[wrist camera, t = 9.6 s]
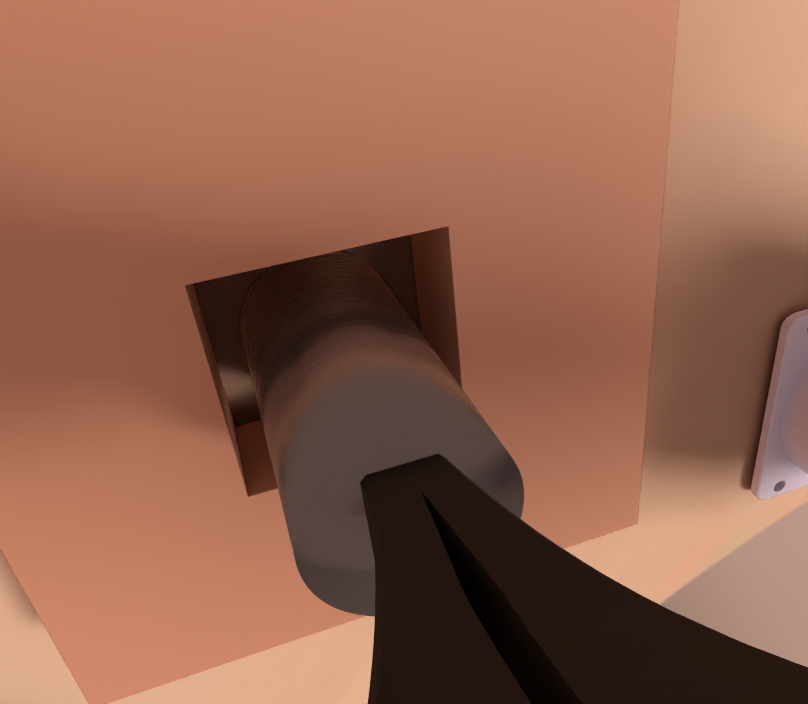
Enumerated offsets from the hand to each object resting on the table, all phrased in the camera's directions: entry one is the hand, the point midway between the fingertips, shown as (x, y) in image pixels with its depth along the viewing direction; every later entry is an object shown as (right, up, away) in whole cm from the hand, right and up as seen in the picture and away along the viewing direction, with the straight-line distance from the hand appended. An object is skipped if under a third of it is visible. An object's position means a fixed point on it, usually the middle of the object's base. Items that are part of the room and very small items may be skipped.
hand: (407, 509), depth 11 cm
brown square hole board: (-2, +4, +7) cm, 8 cm away
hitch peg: (-2, +3, +7) cm, 8 cm away
